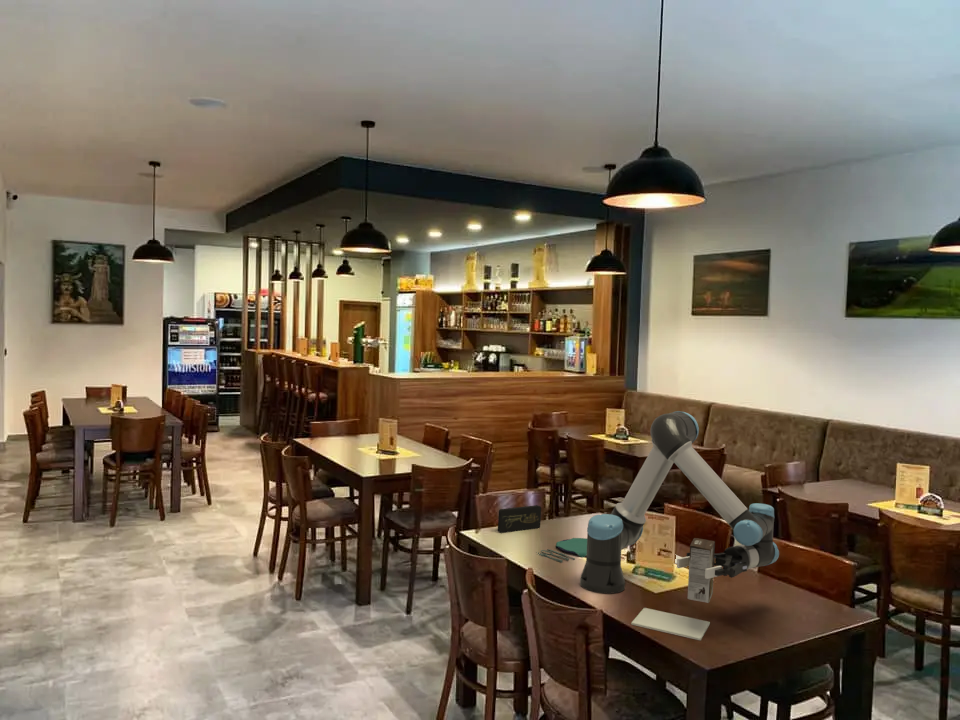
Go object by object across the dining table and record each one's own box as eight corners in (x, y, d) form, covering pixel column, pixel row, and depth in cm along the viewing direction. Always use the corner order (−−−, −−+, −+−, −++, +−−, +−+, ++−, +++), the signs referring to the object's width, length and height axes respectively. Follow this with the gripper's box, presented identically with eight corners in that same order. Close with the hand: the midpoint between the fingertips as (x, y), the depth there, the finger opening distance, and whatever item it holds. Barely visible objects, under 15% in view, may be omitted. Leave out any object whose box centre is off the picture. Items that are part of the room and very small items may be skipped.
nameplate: (500, 533, 306) (501, 510, 306) (497, 532, 308) (498, 509, 307) (540, 528, 317) (541, 505, 316) (537, 527, 318) (538, 504, 318)
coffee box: (691, 589, 220) (693, 537, 220) (713, 593, 218) (715, 540, 217) (686, 599, 212) (689, 544, 211) (709, 603, 209) (712, 548, 209)
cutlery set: (617, 552, 286) (617, 546, 286) (563, 566, 268) (564, 560, 268) (580, 540, 302) (580, 535, 302) (527, 552, 283) (527, 547, 283)
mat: (631, 624, 214) (631, 622, 214) (644, 609, 226) (644, 607, 226) (700, 640, 205) (700, 638, 205) (709, 623, 217) (709, 622, 217)
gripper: (771, 581, 215) (722, 593, 203) (710, 559, 234) (662, 569, 221) (772, 556, 215) (724, 567, 203) (711, 536, 234) (663, 545, 221)
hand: (691, 568), depth 212 cm, fingers closed on coffee box, 10 cm apart
